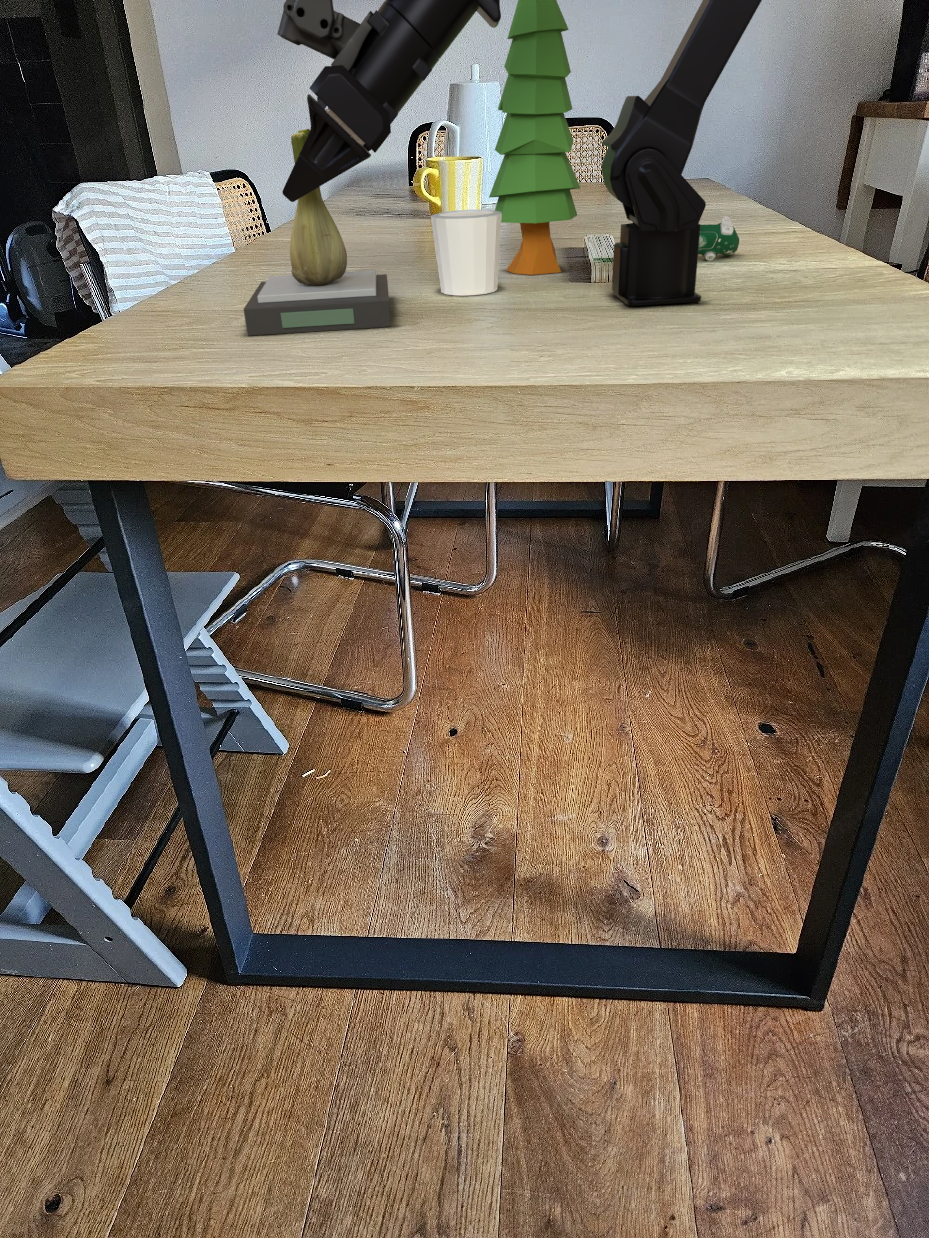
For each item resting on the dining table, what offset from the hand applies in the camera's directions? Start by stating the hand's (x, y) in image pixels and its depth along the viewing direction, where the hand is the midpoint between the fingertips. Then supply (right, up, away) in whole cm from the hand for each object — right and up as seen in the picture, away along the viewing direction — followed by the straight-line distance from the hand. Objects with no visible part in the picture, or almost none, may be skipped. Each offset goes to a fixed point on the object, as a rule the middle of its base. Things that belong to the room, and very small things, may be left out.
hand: (291, 193), depth 75 cm
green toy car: (+40, +3, +23) cm, 46 cm away
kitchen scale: (+2, -9, +5) cm, 10 cm away
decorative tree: (+22, +2, +22) cm, 31 cm away
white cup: (+15, -4, +13) cm, 20 cm away
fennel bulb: (+2, -6, +4) cm, 8 cm away
